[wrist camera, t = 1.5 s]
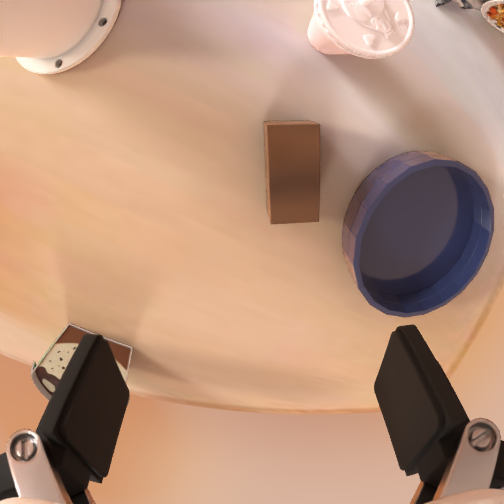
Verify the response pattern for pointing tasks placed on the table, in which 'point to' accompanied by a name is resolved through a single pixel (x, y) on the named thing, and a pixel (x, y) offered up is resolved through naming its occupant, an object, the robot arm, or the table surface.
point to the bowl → (417, 232)
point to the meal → (483, 9)
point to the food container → (61, 353)
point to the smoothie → (361, 27)
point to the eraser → (292, 170)
